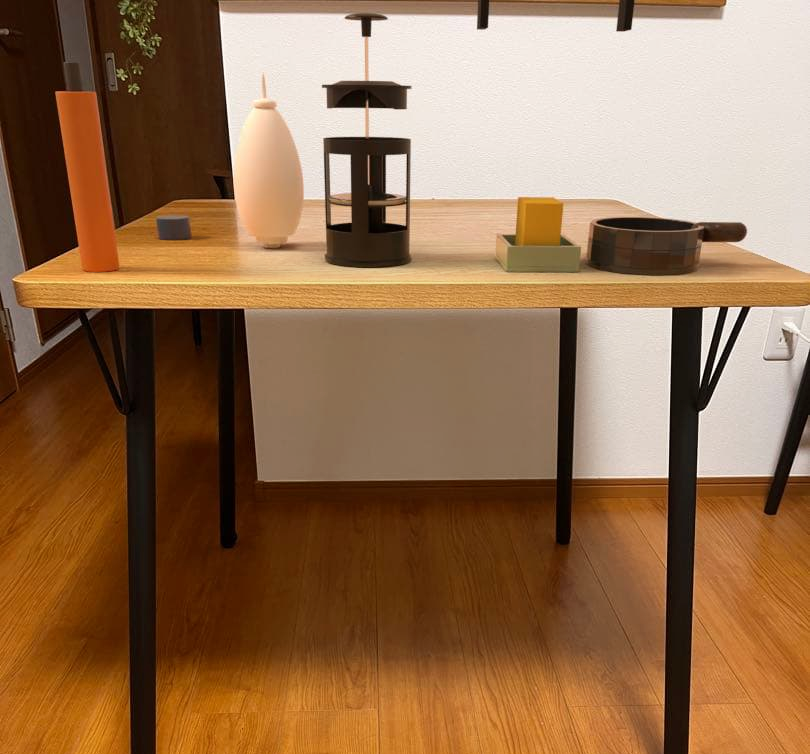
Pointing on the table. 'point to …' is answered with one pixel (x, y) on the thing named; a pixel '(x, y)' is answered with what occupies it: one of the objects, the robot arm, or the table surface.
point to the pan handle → (722, 231)
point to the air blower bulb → (268, 175)
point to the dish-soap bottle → (87, 173)
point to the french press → (367, 174)
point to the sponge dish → (537, 256)
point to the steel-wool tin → (173, 227)
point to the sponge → (538, 221)
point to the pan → (644, 245)
